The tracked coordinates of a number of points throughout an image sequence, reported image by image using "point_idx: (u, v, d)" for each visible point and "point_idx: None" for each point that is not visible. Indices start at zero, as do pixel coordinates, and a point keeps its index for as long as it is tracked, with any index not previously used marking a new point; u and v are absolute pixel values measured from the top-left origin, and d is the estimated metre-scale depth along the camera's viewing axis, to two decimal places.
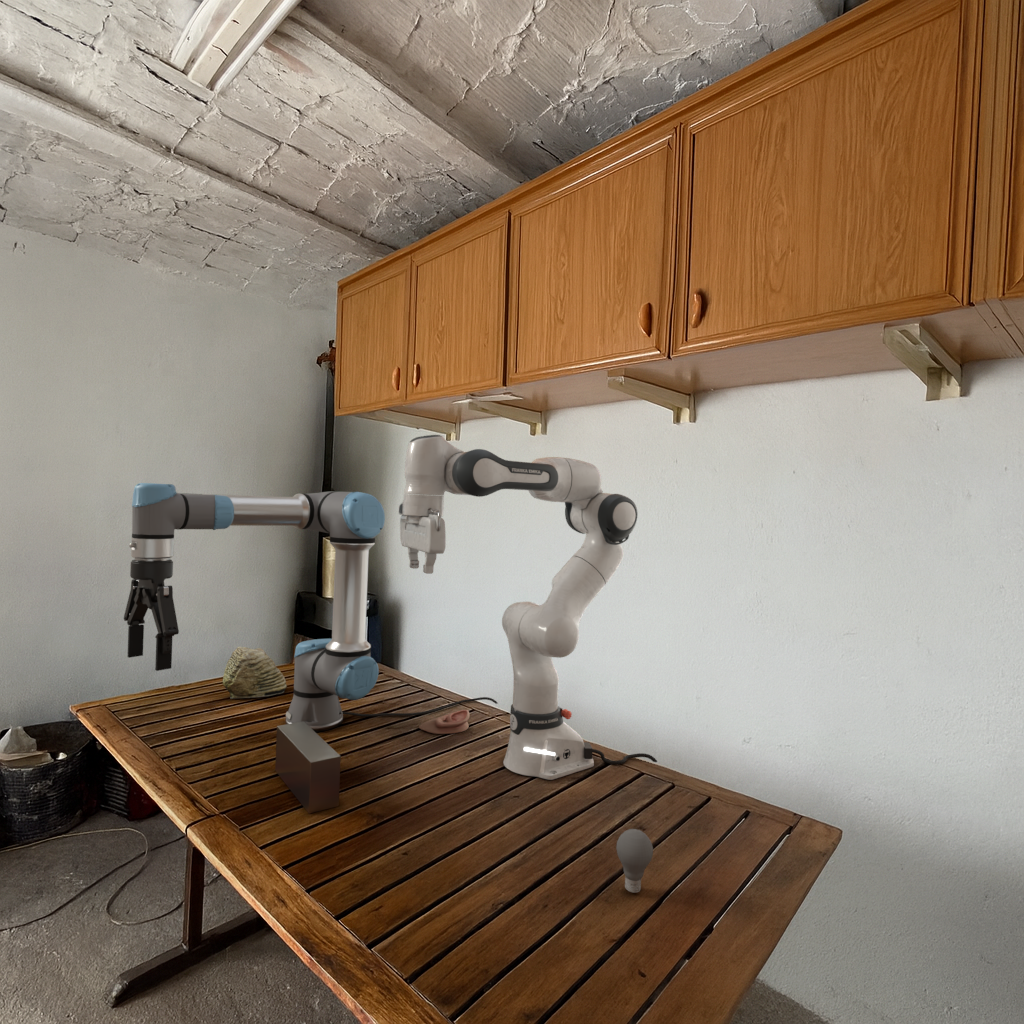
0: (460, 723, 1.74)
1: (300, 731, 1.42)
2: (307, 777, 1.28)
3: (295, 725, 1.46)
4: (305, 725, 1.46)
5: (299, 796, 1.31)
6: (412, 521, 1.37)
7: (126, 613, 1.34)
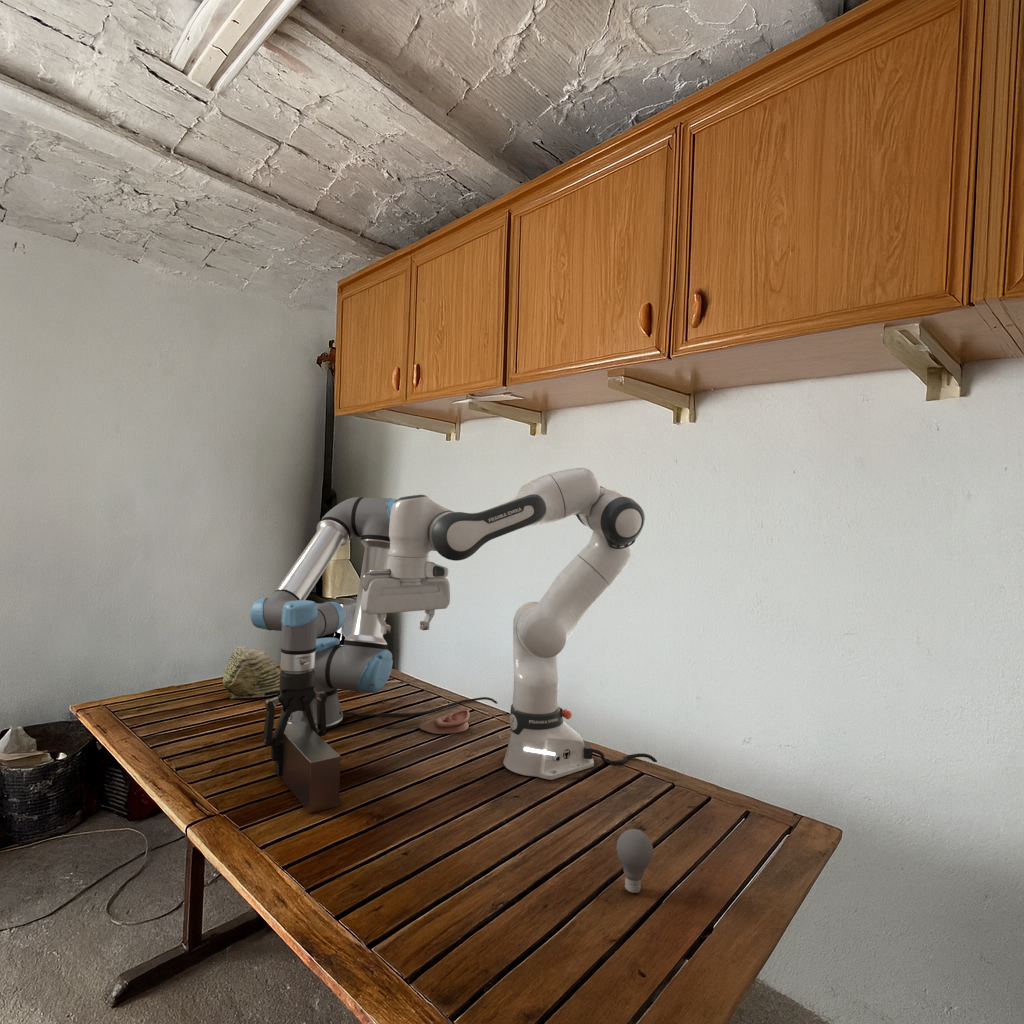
0: (460, 723, 1.74)
1: (300, 731, 1.42)
2: (307, 777, 1.28)
3: (295, 725, 1.45)
4: (305, 725, 1.46)
5: (299, 796, 1.31)
6: None
7: (269, 738, 1.39)
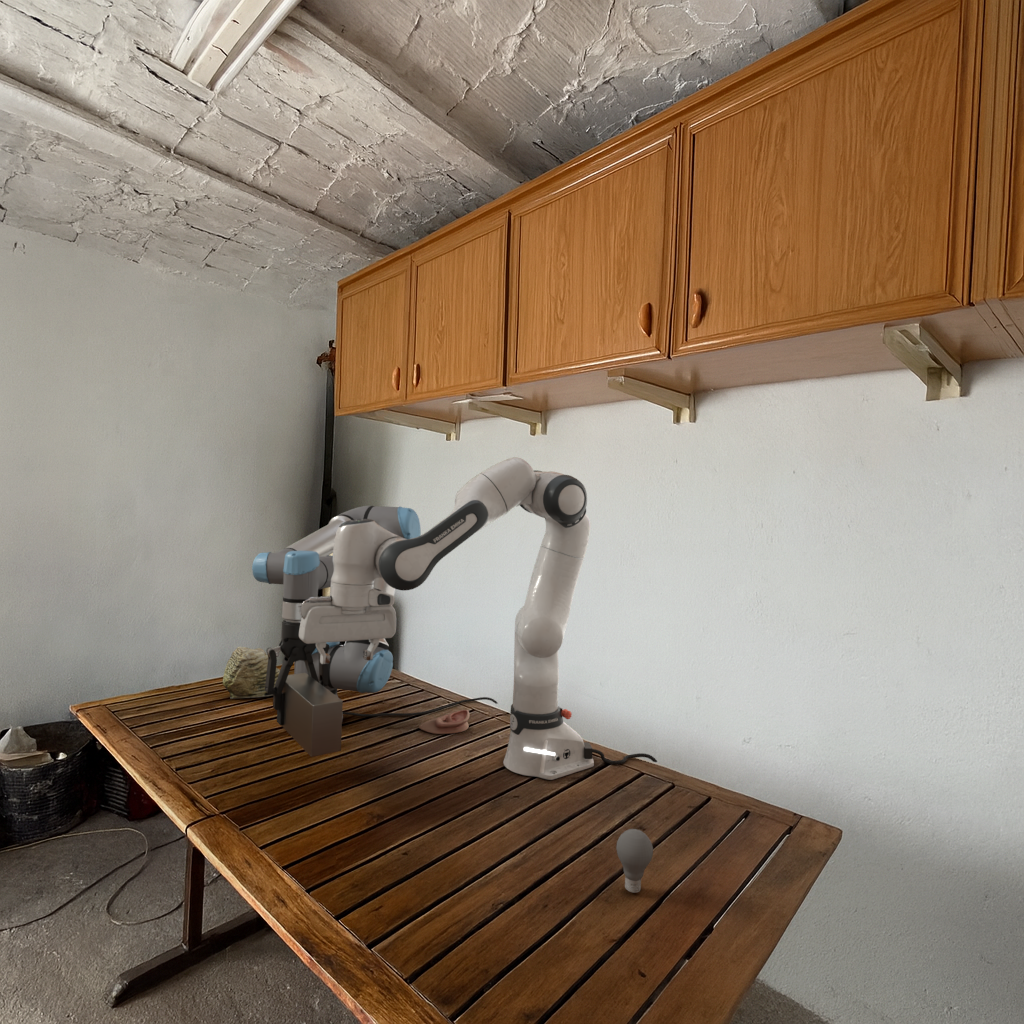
0: (460, 723, 1.74)
1: (301, 680, 1.42)
2: (309, 721, 1.28)
3: (297, 676, 1.45)
4: (307, 676, 1.46)
5: (301, 741, 1.31)
6: None
7: (271, 686, 1.39)
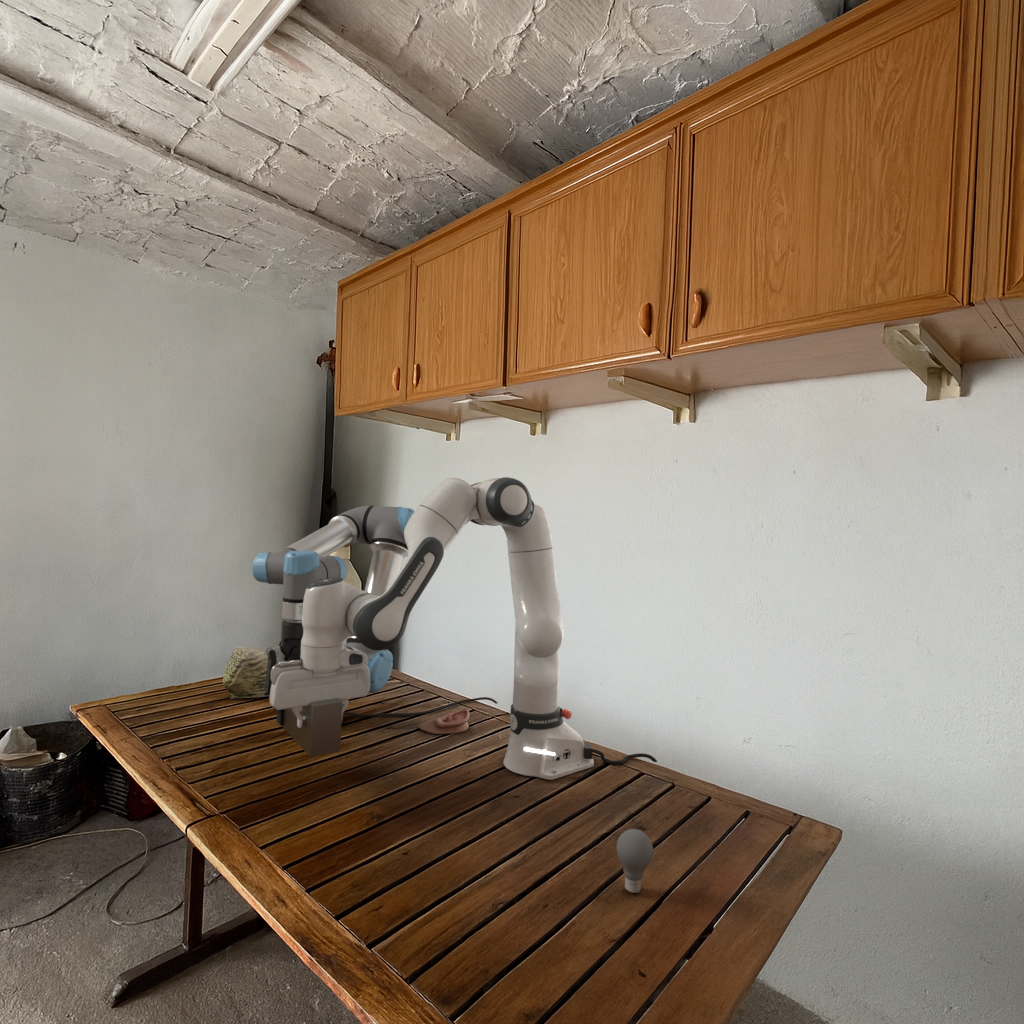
0: (460, 723, 1.74)
1: None
2: (308, 721, 1.27)
3: None
4: None
5: (300, 742, 1.31)
6: None
7: (270, 686, 1.39)
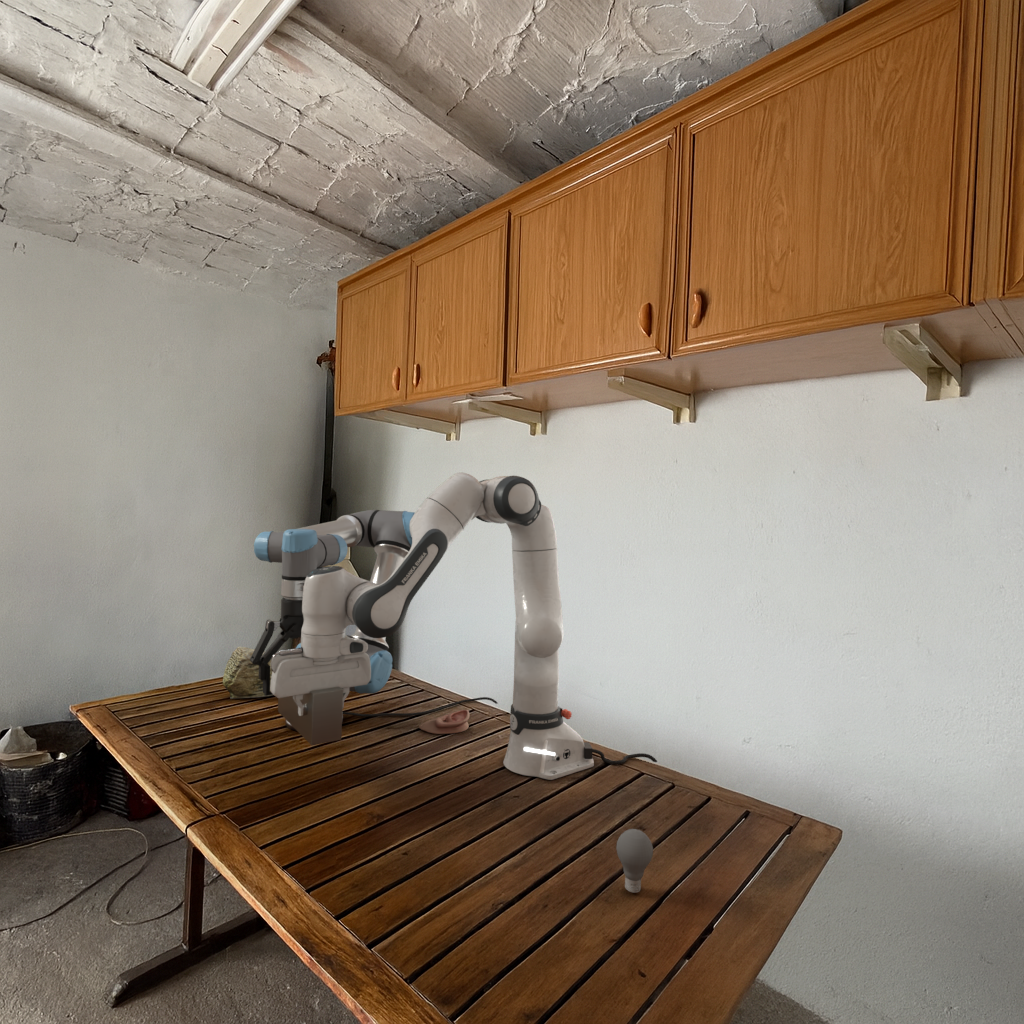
0: (460, 723, 1.74)
1: None
2: (309, 709, 1.27)
3: None
4: None
5: (301, 730, 1.31)
6: None
7: (258, 656, 1.39)
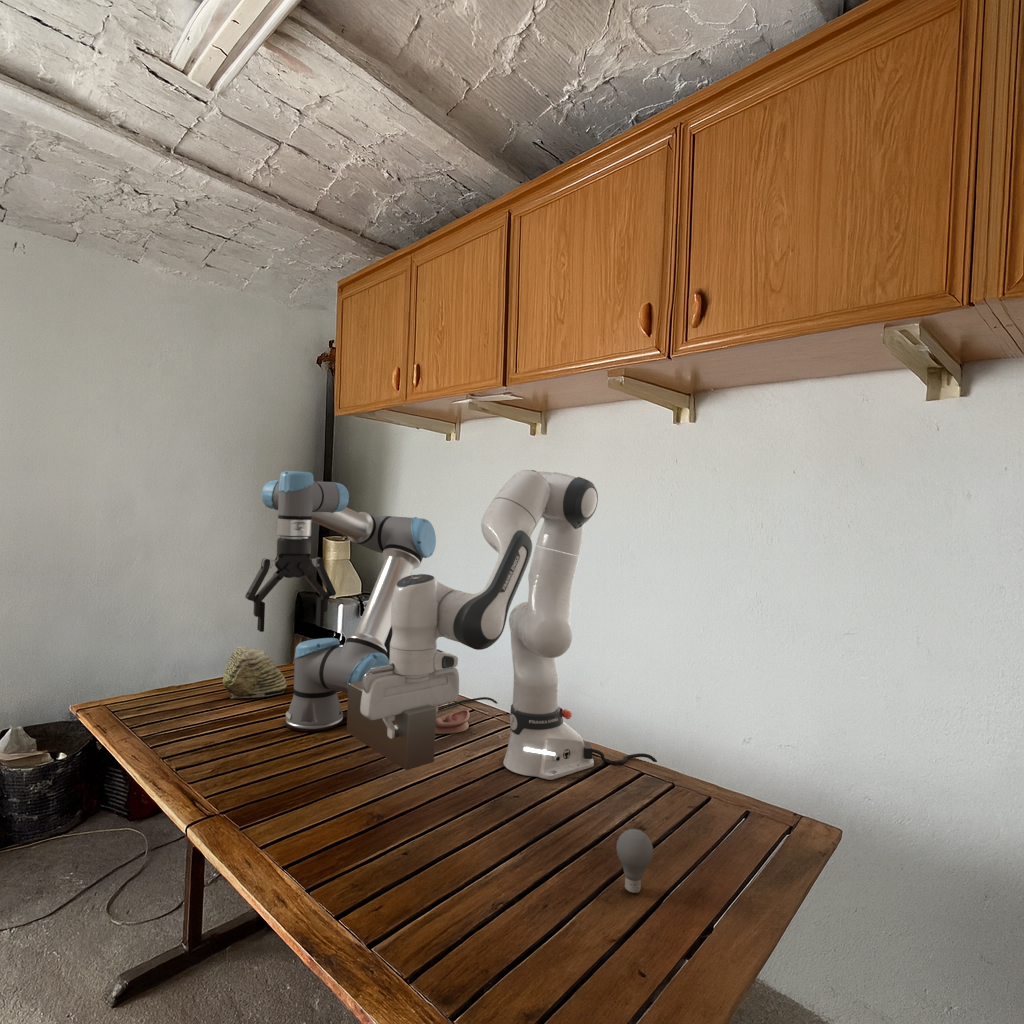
0: (460, 723, 1.74)
1: None
2: (402, 731, 1.17)
3: None
4: None
5: (388, 754, 1.21)
6: None
7: (253, 592, 1.42)
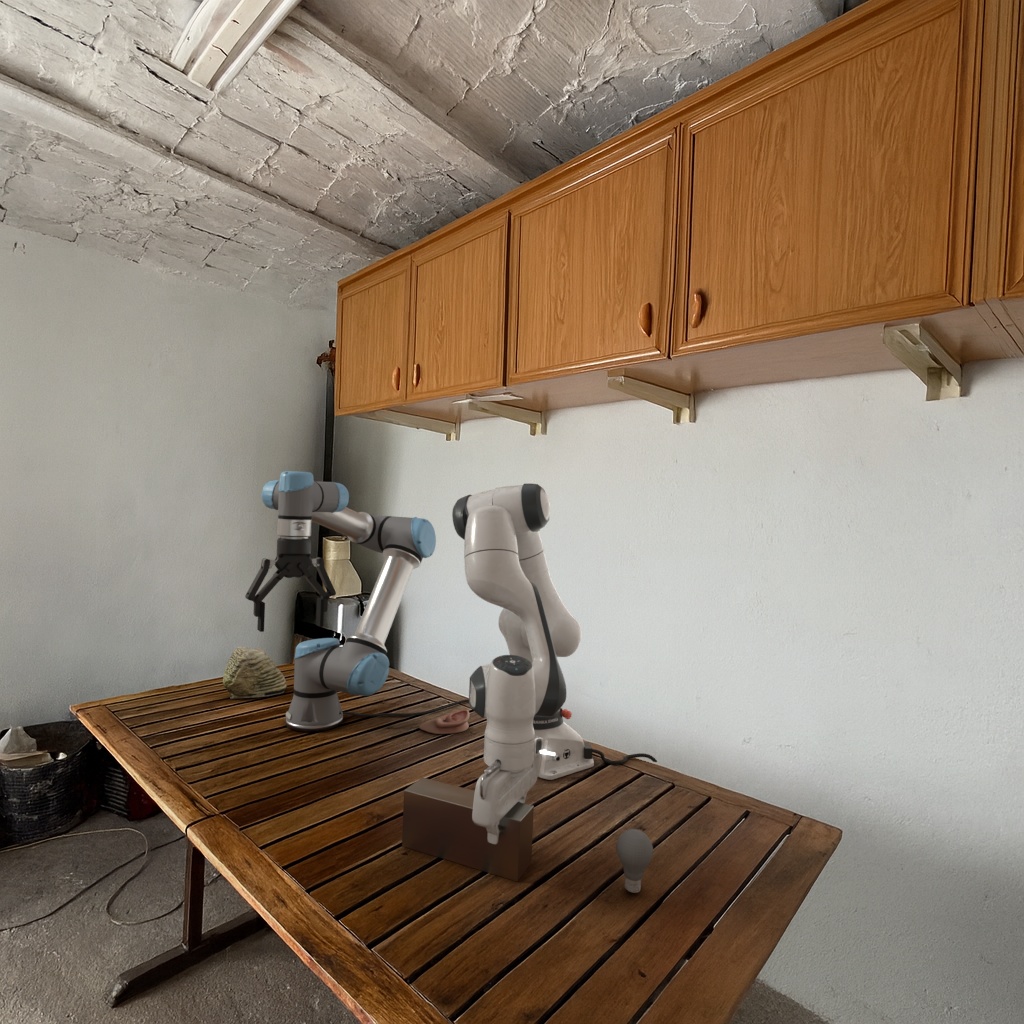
0: (460, 723, 1.74)
1: (441, 789, 1.17)
2: (510, 840, 1.07)
3: (423, 784, 1.19)
4: (433, 781, 1.20)
5: (484, 866, 1.09)
6: None
7: (253, 592, 1.42)
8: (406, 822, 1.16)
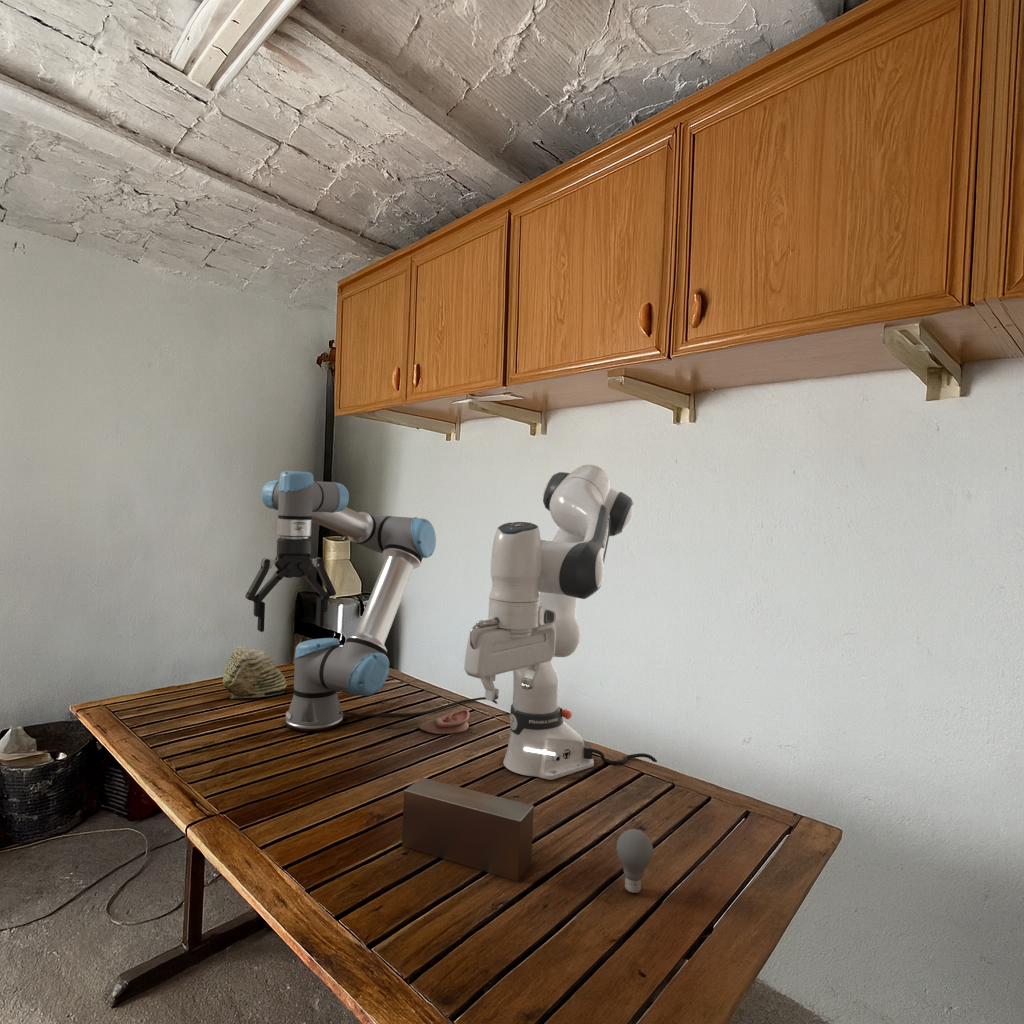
0: (460, 723, 1.74)
1: (441, 789, 1.17)
2: (509, 840, 1.07)
3: (423, 784, 1.19)
4: (433, 781, 1.20)
5: (484, 866, 1.09)
6: None
7: (253, 592, 1.42)
8: (406, 822, 1.16)
